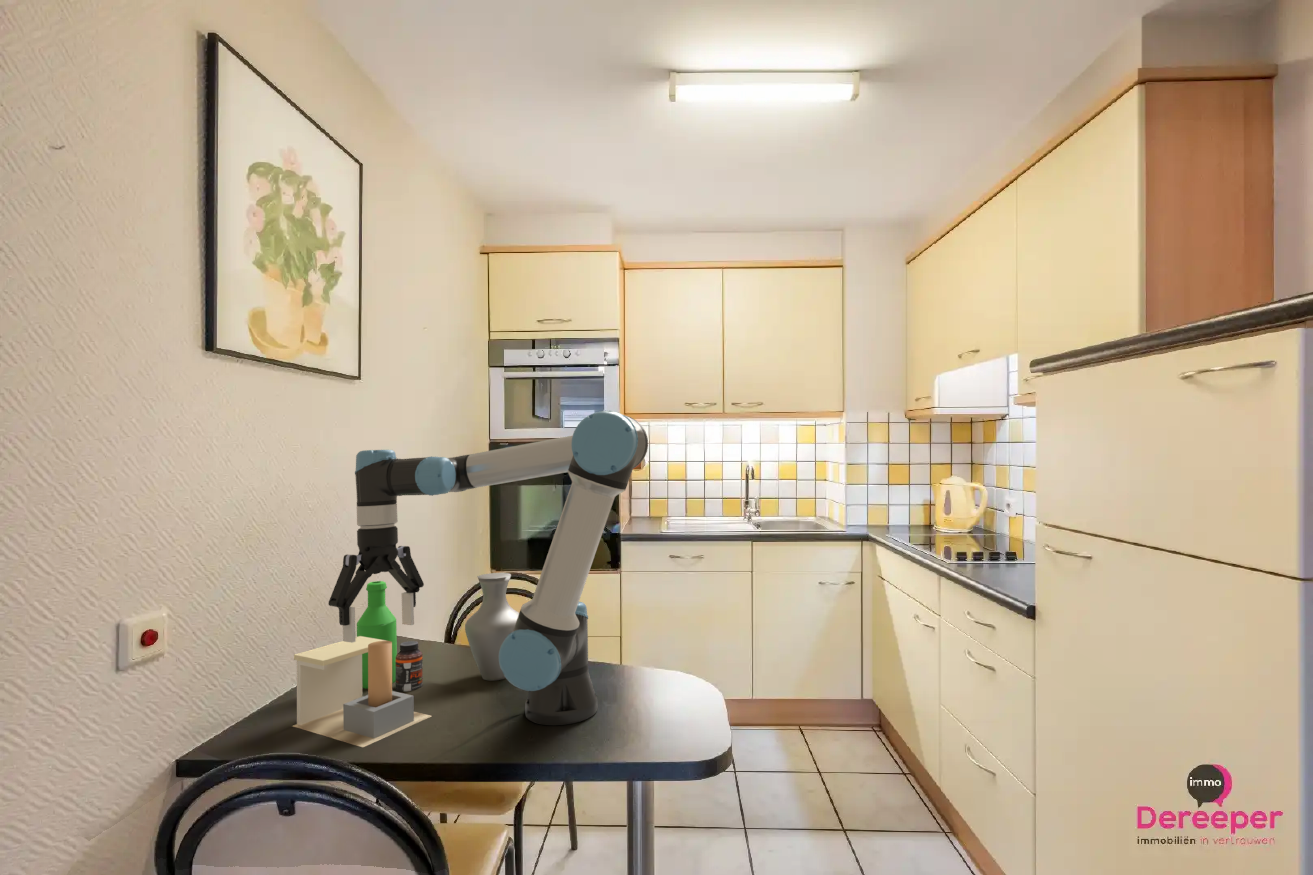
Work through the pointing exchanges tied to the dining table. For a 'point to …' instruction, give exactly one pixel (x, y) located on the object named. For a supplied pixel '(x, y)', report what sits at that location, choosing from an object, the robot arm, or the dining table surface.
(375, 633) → the bottle
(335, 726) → the board
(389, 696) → the peg
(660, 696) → the dining table surface
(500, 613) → the vase
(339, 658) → the cream shelf stand
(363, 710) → the socket
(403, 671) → the supplement bottle
